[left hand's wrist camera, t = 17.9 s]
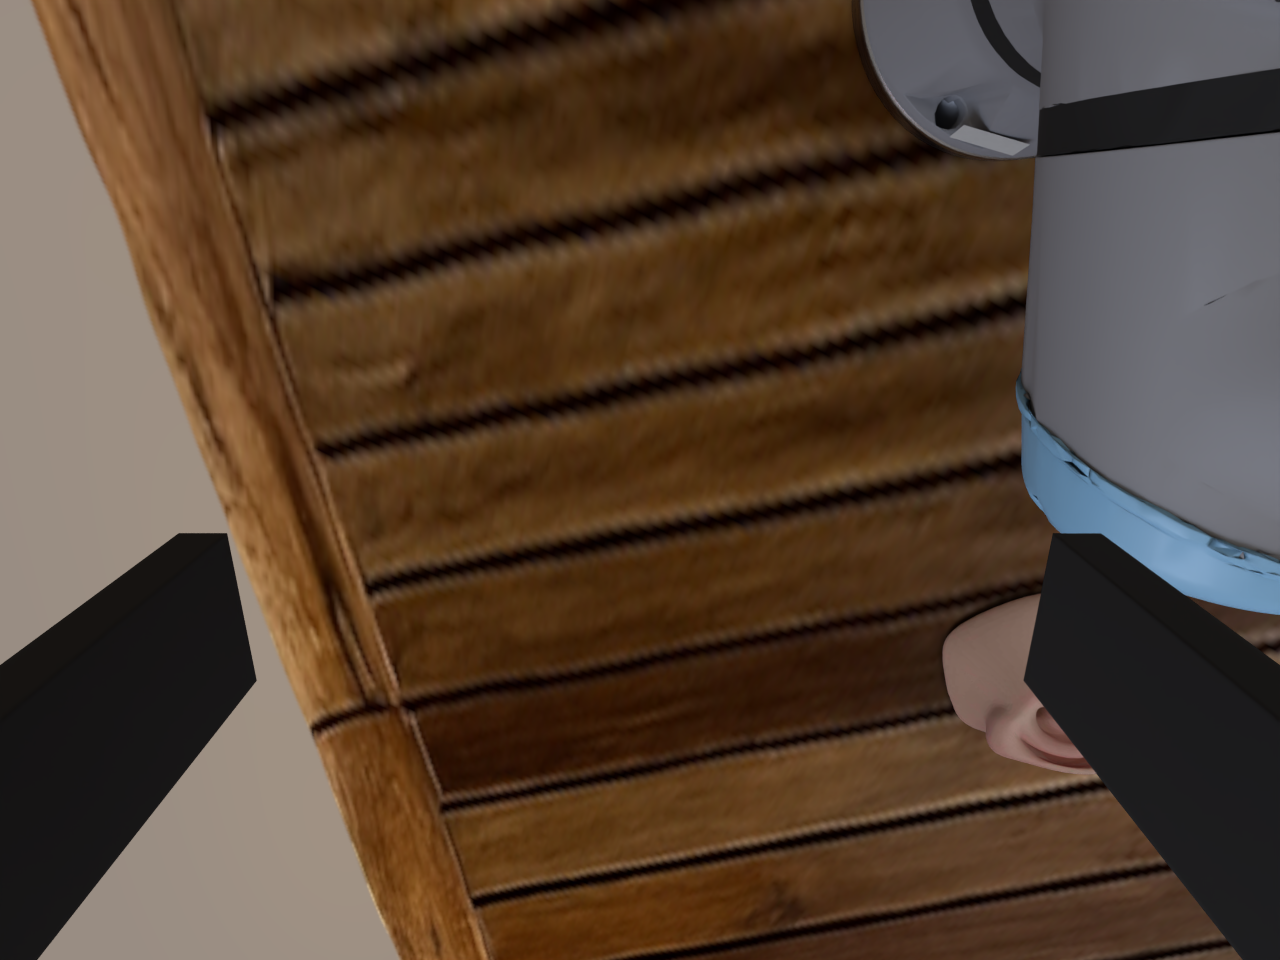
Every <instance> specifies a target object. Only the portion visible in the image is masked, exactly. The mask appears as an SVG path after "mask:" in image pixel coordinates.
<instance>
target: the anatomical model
mask: <svg viewBox="0 0 1280 960" xmlns="http://www.w3.org/2000/svg"><path fill="white" fill-rule="evenodd" d="M1040 596H1041V594H1036V595H1031V596H1026V597H1023V598H1019V599H1016V600H1013V601H1010V602H1007V603H1004V604H1002V605H999V606H997V607H994V608H992V609H990V610H987V611H985V612H983V613H981V614H978V615H976V616H974V617H973V618H971V619H969V620H967V621H965V622H964V623H962V624H960V625H959V626H958V627H956V628H955V629H954V630H953V631H952V632H951V633H950V634H949V635H948V637H947V638H946V640H945V642H944V646H943V667H944V674H945V680H946V686H947V690H948V693H949V696H950V699H951V701H952V704H953V707H954V709H955V711H956V713H957V715H958V716H959V718H960V719H961V720H962V721H963V722H964V723H966V724H967V725H969V726H971V727H973V728H975V729H978V730H981V731H984V732H986V739H987V742H988V744H989V746H990V748H991V749H992V750H993V751H994V752H995V753H997V754H999V755H1001V756H1004V757H1006V758H1010V759H1014V760H1018V761H1021V762H1025V763H1029V764H1032V765H1036V766H1039V767H1043V768H1047V769H1051V770H1055V771H1059V772H1065V773H1072V774H1096V772H1095V771H1094V770H1093V769H1092V767H1091V766H1090V765H1089V763H1088V762H1087V761H1086V760H1085V758H1084V757H1083V756H1082V755H1081V753H1080V752H1079V751H1078V749H1077V748H1076V747H1075V746H1074V744H1073V743H1072V742H1071V741H1070V739H1069V738H1068V737H1067V735H1066V734H1065V733H1064V732H1063V730H1062V729H1061V728H1060V727H1059V725H1058V724H1057V723H1056V721H1055V720H1054V719H1053V718H1052V716H1051V715H1050V714H1049V713H1048V711H1047V710H1046V709H1045V707H1044V706H1043V705H1042V704H1041V702H1040V701H1039V700H1038V699H1037V697H1036V696H1035V695H1034V693H1033V692H1032V691H1031V690H1030V688H1029V687H1028V686H1027V685H1026V683H1025V682H1024V681H1023V680H1024V675H1025V670H1026V665H1027V660H1028V655H1029V650H1030V645H1031V640H1032V635H1033V630H1034V625H1035V620H1036V615H1037V610H1038V605H1039V600H1040Z"/></svg>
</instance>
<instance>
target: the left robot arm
mask: <svg viewBox="0 0 1280 960" xmlns="http://www.w3.org/2000/svg"><path fill="white" fill-rule="evenodd" d="M852 17H853V27H854V33H855V38H856V43H857V48H858V51H859V55H860V58H861V61H862V64H863V67H864V69H865V72H866V74H867V77H868V79H869V81H870V83H871V85H872V87H873V89H874V90H875V92H876V94H877V96H878V97H879V99H880V100H881V102H882V103H883V105H884V106H885V107H886V109H887V110H888V111H889V112H890V113H891V115H892V116H893V117H894V118H895V119H896V120H897V121H898V122H899V123H900V124H901V125H902V126H903V127H904V128H905V129H906V130H908V131H909V132H910V133H912V134H913V135H914V136H915V137H917V138H918V139H920V140H922V141H923V142H925V143H927V144H928V145H930V146H932V147H934V148H936V149H938V150H941V151H943V152H945V153H949V154H952V155H955V156H958V157H962V158H967V159H972V160H983V161H1006V160H1017V159H1026V158H1034V157H1036V158H1035V176H1034V195H1033V213H1032V230H1031V244H1030V258H1029V273H1028V287H1027V302H1026V316H1025V331H1024V345H1023V359H1022V369H1021V372H1020V375H1019V377H1018V379H1017V381H1016V398H1017V402H1018V406H1019V409H1020V411H1021V413H1022V473H1023V478H1024V481H1025V485H1026V488H1027V490H1028V492H1029V494H1030V496H1031V498H1032V500H1033V501H1034V502H1035V503H1036V504H1037V506H1038V507H1039V508H1040V509H1041V510H1042V511H1043V512H1044V513H1045V514H1046V516H1047V518H1048V520H1049V522H1050V523H1051V524H1052V525H1053V526H1054V527H1055V528H1056V529H1057V530H1058V531H1059V532H1061V533H1053V536H1052V541H1051V546H1050V551H1049V556H1048V561H1047V566H1046V571H1045V576H1044V581H1043V586H1042V591H1041V596H1040V600H1039V605H1038V610H1037V615H1036V620H1035V625H1034V630H1033V635H1032V640H1031V645H1030V650H1029V655H1028V660H1027V665H1026V670H1025V675H1024V680H1023V681H1024V682H1025V683H1026V685H1027V686H1028V687H1029V688H1030V690H1031V691H1032V692H1033V693H1034V695H1035V696H1036V697H1037V699H1038V700H1039V701H1040V702H1041V704H1042V705H1043V706H1044V707H1045V709H1046V710H1047V711H1048V713H1049V714H1050V715H1051V716H1052V718H1053V719H1054V720H1055V721H1056V723H1057V724H1058V725H1059V727H1060V728H1061V729H1062V730H1063V732H1064V733H1065V734H1066V735H1067V737H1068V738H1069V739H1070V741H1071V742H1072V743H1073V744H1074V746H1075V747H1076V748H1077V749H1078V751H1079V752H1080V753H1081V755H1082V756H1083V757H1084V758H1085V760H1086V761H1087V762H1088V763H1089V765H1090V766H1091V767H1092V769H1093V770H1094V771H1095V772H1096V774H1097V775H1098V776H1099V777H1100V779H1101V780H1102V781H1103V783H1104V784H1105V785H1106V786H1107V788H1108V789H1109V790H1110V791H1111V793H1112V794H1113V795H1114V797H1115V798H1116V799H1117V800H1118V802H1119V803H1120V804H1121V805H1122V807H1123V808H1124V809H1125V811H1126V812H1127V813H1128V814H1129V816H1130V817H1131V818H1132V819H1133V821H1134V822H1135V823H1136V825H1137V826H1138V827H1139V828H1140V830H1141V831H1142V832H1143V833H1144V835H1145V836H1146V837H1147V839H1148V840H1149V841H1150V842H1151V844H1152V845H1153V846H1154V847H1155V849H1156V850H1157V851H1158V853H1159V854H1160V855H1161V856H1162V858H1163V859H1164V860H1165V861H1166V863H1167V864H1168V865H1169V867H1170V868H1171V869H1172V870H1173V872H1174V873H1175V874H1176V875H1177V877H1178V878H1179V879H1180V880H1181V882H1182V883H1183V884H1184V886H1185V887H1186V888H1187V889H1188V891H1189V892H1190V893H1191V894H1192V896H1193V897H1194V898H1195V900H1196V901H1197V902H1198V903H1199V905H1200V906H1201V907H1202V908H1203V910H1204V911H1205V912H1206V914H1207V915H1208V916H1209V917H1210V919H1211V920H1212V921H1213V922H1214V924H1215V925H1216V926H1217V928H1218V929H1219V930H1220V931H1221V933H1222V934H1223V935H1224V936H1225V938H1226V939H1227V940H1228V942H1229V943H1230V944H1231V945H1232V947H1233V948H1234V949H1235V950H1236V952H1237V953H1238V954H1239V956H1240V957H1241V958H1242V959H1243V960H1280V665H1279V664H1278V663H1276V662H1275V661H1273V660H1272V659H1271V658H1269V657H1268V656H1267V655H1265V654H1264V653H1263V652H1261V651H1260V650H1259V649H1257V648H1256V647H1254V646H1253V645H1252V644H1250V643H1249V642H1248V641H1246V640H1245V639H1244V638H1242V637H1241V636H1240V635H1238V634H1237V633H1236V632H1234V631H1233V630H1231V629H1230V628H1229V627H1227V626H1226V625H1225V624H1223V623H1222V622H1221V621H1219V620H1218V619H1217V618H1215V617H1214V616H1212V615H1211V614H1210V613H1208V612H1207V611H1206V610H1204V609H1203V608H1202V607H1200V606H1199V605H1198V604H1196V603H1195V602H1194V601H1192V600H1191V599H1189V598H1188V597H1187V596H1190V597H1194V598H1198V599H1201V600H1205V601H1208V602H1212V603H1216V604H1220V605H1224V606H1229V607H1233V608H1238V609H1243V610H1249V611H1255V612H1261V613H1269V614H1277V615H1280V0H852ZM1185 595H1187V596H1185ZM255 682H256V675H255V670H254V665H253V660H252V655H251V650H250V645H249V640H248V635H247V630H246V625H245V620H244V615H243V610H242V605H241V600H240V596H239V591H238V586H237V581H236V576H235V571H234V566H233V561H232V556H231V551H230V546H229V541H228V536H227V533H179V534H177V535H176V536H175V537H173V538H172V539H170V540H169V541H168V542H166V543H165V544H164V545H162V546H161V547H160V548H158V549H157V550H156V551H154V552H153V553H152V554H150V555H149V556H148V557H146V558H145V559H143V560H142V561H141V562H139V563H138V564H137V565H135V566H134V567H133V568H131V569H130V570H128V571H127V572H126V573H124V574H123V575H122V576H120V577H119V578H118V579H116V580H115V581H114V582H112V583H111V584H109V585H108V586H107V587H105V588H104V589H103V590H101V591H100V592H99V593H97V594H96V595H95V596H93V597H92V598H91V599H89V600H88V601H86V602H85V603H84V604H82V605H81V606H80V607H78V608H77V609H76V610H74V611H73V612H72V613H70V614H69V615H68V616H66V617H65V618H63V619H62V620H61V621H59V622H58V623H57V624H55V625H54V626H53V627H51V628H50V629H49V630H47V631H46V632H45V633H43V634H42V635H40V636H39V637H38V638H36V639H35V640H34V641H32V642H31V643H30V644H28V645H27V646H26V647H24V648H23V649H21V650H20V651H19V652H17V653H16V654H15V655H13V656H12V657H11V658H9V659H8V660H7V661H5V662H4V663H3V664H1V665H0V960H37V959H38V958H39V957H40V956H41V954H42V953H43V952H44V950H45V949H46V948H47V947H48V945H49V944H50V943H51V942H52V940H53V939H54V938H55V936H56V935H57V934H58V933H59V931H60V930H61V929H62V928H63V926H64V925H65V924H66V922H67V921H68V920H69V919H70V917H71V916H72V915H73V914H74V912H75V911H76V910H77V908H78V907H79V906H80V905H81V903H82V902H83V901H84V900H85V898H86V897H87V896H88V894H89V893H90V892H91V891H92V889H93V888H94V887H95V886H96V884H97V883H98V882H99V880H100V879H101V878H102V877H103V875H104V874H105V873H106V872H107V870H108V869H109V868H110V866H111V865H112V864H113V863H114V861H115V860H116V859H117V858H118V856H119V855H120V854H121V852H122V851H123V850H124V849H125V847H126V846H127V845H128V844H129V842H130V841H131V840H132V839H133V837H134V836H135V835H136V833H137V832H138V831H139V830H140V828H141V827H142V826H143V825H144V823H145V822H146V821H147V819H148V818H149V817H150V816H151V814H152V813H153V812H154V810H155V809H156V808H157V807H158V805H159V804H160V803H161V802H162V800H163V799H164V798H165V796H166V795H167V794H168V793H169V791H170V790H171V789H172V788H173V786H174V785H175V784H176V783H177V781H178V780H179V779H180V777H181V776H182V775H183V774H184V772H185V771H186V770H187V769H188V767H189V766H190V765H191V763H192V762H193V761H194V760H195V758H196V757H197V756H198V754H199V753H200V752H201V751H202V749H203V748H204V747H205V746H206V744H207V743H208V742H209V741H210V739H211V738H212V737H213V735H214V734H215V733H216V732H217V730H218V729H219V728H220V727H221V725H222V724H223V723H224V721H225V720H226V719H227V718H228V716H229V715H230V714H231V713H232V711H233V710H234V709H235V707H236V706H237V705H238V704H239V702H240V701H241V700H242V699H243V697H244V696H245V695H246V693H247V692H248V691H249V690H250V688H251V687H252V686H253V685H254V683H255Z"/></svg>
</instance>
